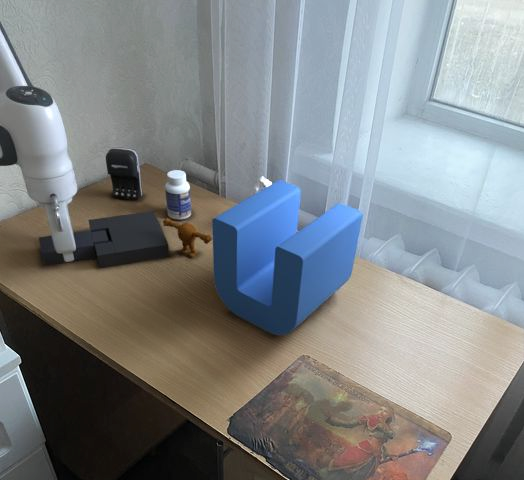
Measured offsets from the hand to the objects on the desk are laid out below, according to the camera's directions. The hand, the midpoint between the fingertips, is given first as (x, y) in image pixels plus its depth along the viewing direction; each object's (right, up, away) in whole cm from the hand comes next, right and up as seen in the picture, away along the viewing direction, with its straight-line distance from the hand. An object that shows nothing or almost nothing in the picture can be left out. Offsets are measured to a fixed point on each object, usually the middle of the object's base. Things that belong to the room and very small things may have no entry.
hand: (67, 247), depth 108 cm
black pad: (+11, +2, +4) cm, 12 cm away
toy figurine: (+24, -1, +3) cm, 24 cm away
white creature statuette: (+38, +6, +11) cm, 40 cm away
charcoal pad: (+1, -1, +1) cm, 2 cm away
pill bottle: (+21, +10, +14) cm, 27 cm away
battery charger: (+7, +15, +19) cm, 25 cm away
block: (+43, -11, -7) cm, 45 cm away
